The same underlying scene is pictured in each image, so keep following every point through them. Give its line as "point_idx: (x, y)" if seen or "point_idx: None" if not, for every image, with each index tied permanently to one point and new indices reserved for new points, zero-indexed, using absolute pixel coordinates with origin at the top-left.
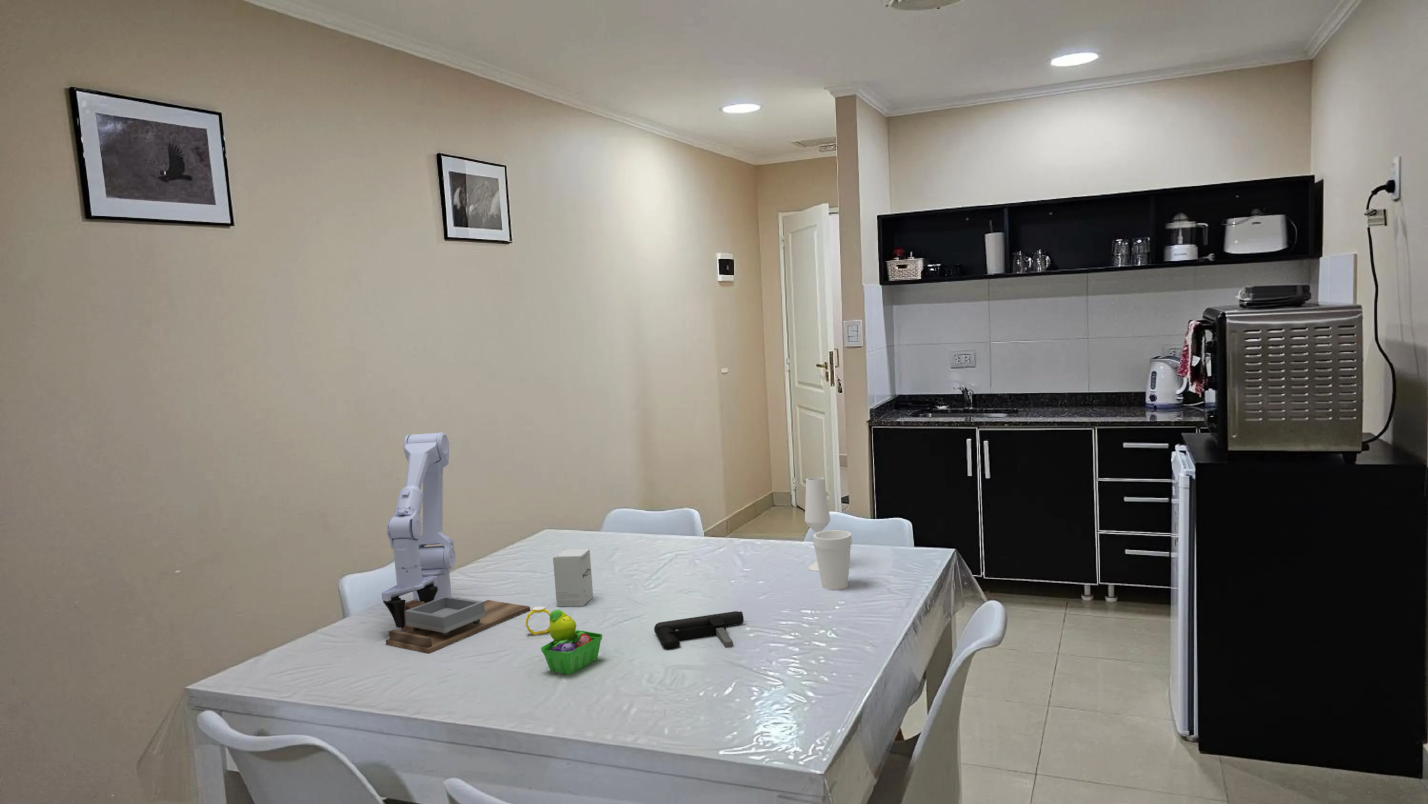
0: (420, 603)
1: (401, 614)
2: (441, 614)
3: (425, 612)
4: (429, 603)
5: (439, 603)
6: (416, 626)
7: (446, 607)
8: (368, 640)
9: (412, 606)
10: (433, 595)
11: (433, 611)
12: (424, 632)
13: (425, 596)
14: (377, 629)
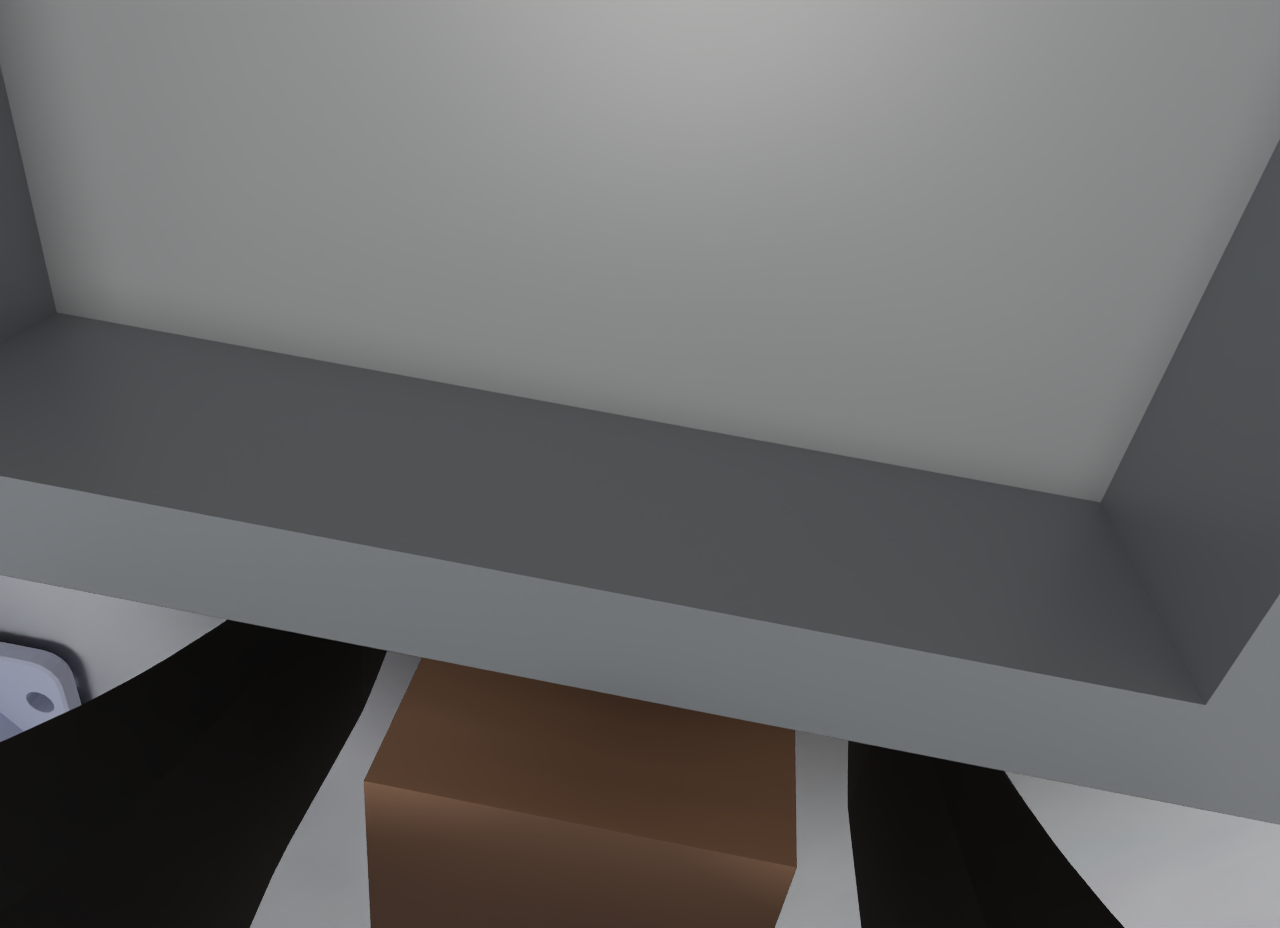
0: (484, 795)
1: (1019, 835)
2: (497, 31)
3: (678, 466)
4: (465, 559)
5: (155, 424)
6: None
7: (56, 306)
8: (1213, 832)
9: (731, 844)
10: (17, 777)
11: (442, 392)
12: None
13: (170, 898)
14: (799, 918)
